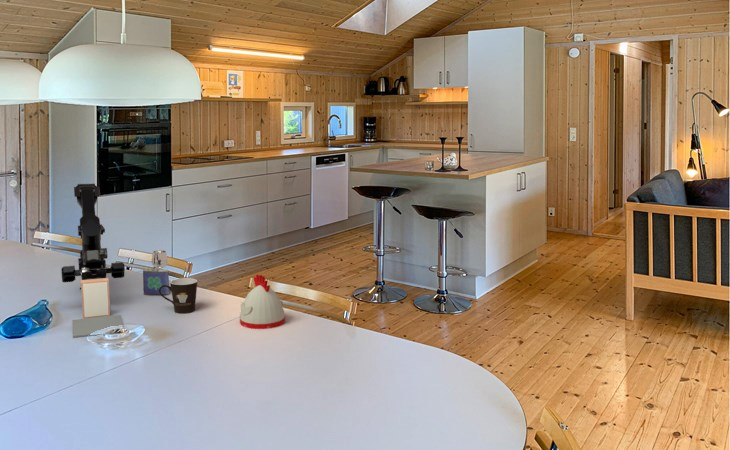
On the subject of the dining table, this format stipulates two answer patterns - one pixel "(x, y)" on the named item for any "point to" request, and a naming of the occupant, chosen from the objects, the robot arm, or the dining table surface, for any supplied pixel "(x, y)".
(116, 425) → the dining table surface
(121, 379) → the dining table surface
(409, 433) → the dining table surface
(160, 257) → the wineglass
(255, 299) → the kitchen timer
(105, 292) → the tile
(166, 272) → the flask
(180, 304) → the coffee mug
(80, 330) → the mat
